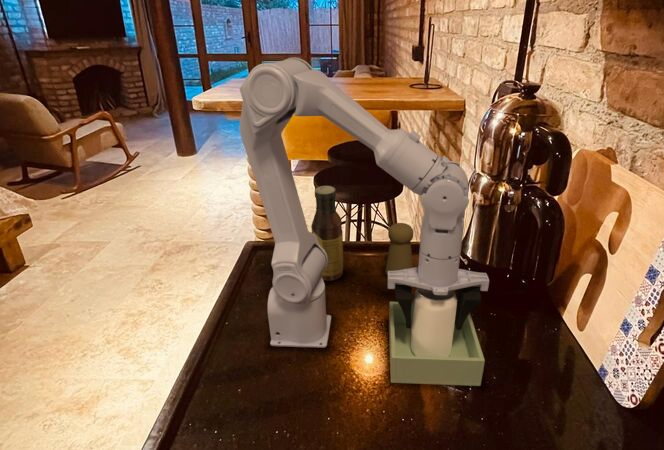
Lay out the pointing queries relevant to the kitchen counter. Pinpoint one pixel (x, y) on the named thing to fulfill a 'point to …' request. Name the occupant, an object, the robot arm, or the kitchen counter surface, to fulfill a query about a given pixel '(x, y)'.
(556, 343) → the kitchen counter surface
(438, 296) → the can
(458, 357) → the bin
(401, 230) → the olive game pawn
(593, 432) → the kitchen counter surface
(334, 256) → the sauce bottle
